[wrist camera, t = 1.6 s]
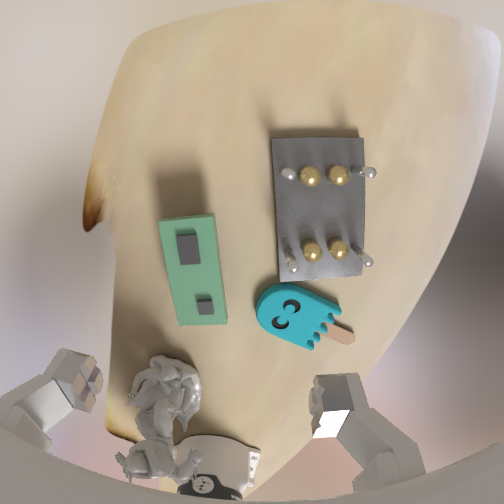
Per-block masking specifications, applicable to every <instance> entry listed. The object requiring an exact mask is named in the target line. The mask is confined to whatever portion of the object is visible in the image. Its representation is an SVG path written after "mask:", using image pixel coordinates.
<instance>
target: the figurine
mask: <svg viewBox="0 0 504 504" xmlns="http://www.w3.org/2000/svg"><path fill="white" fill-rule="evenodd" d="M144 379H147V380H146V381H145V382H144V383H143V385H142V388H141V389H140V391H139V393H138V392H137V390H138V387H139V385H140V384H141V382H142V381H143V380H144ZM133 395H135V397H133ZM129 396H130V397H129ZM131 396H132V397H131ZM128 397H129V398H133V399H132V400H131V401H129V402H128V403H126V404H125V405H124V406H129V405H139V411H140V412H139V413H138V414H137V416H136V418H135V421H136V424H137V428H138V430H139V431H140V433H141V434H142V436H143V437H144V438H145V439H146V440H143V441H140V442H138V443H136V444H135V445H134V446H133V447H132V448H131V449H130V450H129V455H128V456H127V458H125V457H124V456H123V455H122V454H121V453H120V452H118V454H116V455H115V457H116V460H117V462H118V463H120V465H121V466H122V467H123V471H124V473H125V474H126V477H127V478H128V476H129V482H130V483H131V479H132V476H133V477H135V478H142V479H152V478H159V477H164V476H168V477H170V478H173V479H176V480H187V479H188V478H190V479H191V480H192V483H193V487H195V482H194V477H193V476H192V474H193V473H194V476H195V480H196V479H197V477H196V473H197V474H198V467H197V463H198V462H200V461H202V459H203V458H204V455H203V453H201V451H198V449H195V450H194V451H193V449H192V448H191V449H190V451H189V453H188V459H187V460H186V461H185V462H184V463H183V464H182V465H180V466H179V467H178V466H177V465H176V464H175V460H174V458H173V454H172V449H173V448H174V444H173V435H172V431H173V421H174V419H175V417H176V418H177V419H178V420H179V422H180V423H181V424H182V427H183V430H184V432H186V430H187V428H188V424H187V423H188V422H189V420H190V419H191V418H192V416H193V414H195V413H197V412H198V410H199V409H200V407H201V403H200V400H201V398H202V383H201V381H200V376H199V374H198V371H197V370H196V369H194V368H193V367H192V366H191V365H189V364H185V363H184V362H182V361H180V360H179V359H172V358H167V357H165V356H164V355H158V356H154V357H152V358H151V359H150V368H148V369H146V370H144V371H141V372H139V373H138V374H137V375H136V376H135V378H134V381H133V384H132V388H131V392H130V393H129V394H128ZM192 452H193V453H192ZM195 469H196V471H195Z"/></svg>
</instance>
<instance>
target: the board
mask: <svg viewBox="0 0 504 504" xmlns="http://www.w3.org/2000/svg"><path fill="white" fill-rule="evenodd" d="M158 224H159V230H160V236H161V242H162V247H163V253H164V258H165V264H166V269H167V274H168V279H169V284H170V288H171V293H172V297H173V302H174V306H175V311H176V315H177V319H178V323H179V326H183V325H218V324H227V319H228V315H227V308H226V300H225V293H224V286H223V278H222V270H221V262H220V254H219V246H218V237H217V229H216V220H215V213H212V214H201V215H191V216H181V217H171V218H163V219H161V220H160V221H159V222H158Z"/></svg>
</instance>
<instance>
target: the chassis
mask: <svg viewBox="0 0 504 504" xmlns="http://www.w3.org/2000/svg"><path fill="white" fill-rule="evenodd" d="M271 145H272V159H273V173H274V188H275V204H276V221H277V239H278V259H279V279H280V282H290V281H303V280H314V279H326V278H337V277H347V276H358V275H362V266H363V264H364V265H365V266H366V267H371V266H372V265H373V259H372V258H371V257H370V256H369V255H368V254H367V253H366V252H365V251H364V229H365V177H369V178H374V177H375V176H376V170H375V169H374V168H372V167H366V166H365V161H364V139H363V138H348V137H304V138H277V139H271Z"/></svg>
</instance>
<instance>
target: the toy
mask: <svg viewBox="0 0 504 504" xmlns="http://www.w3.org/2000/svg"><path fill="white" fill-rule="evenodd" d="M330 313H334V314H337V315H340V314H341V308H340V307H339V306H338V305H337V304H335V303H333V302H331V301H329V300H327V299H325V298H323V297H321V296H318V295H316V294H314V293H312V292H310V291H308V290H306V289H304V288H302V287H300V286H297V285H294V284H289V283H282V284H276V285H273V286H271V287H269V288H268V289H267V290H265V291H264V292H263V293H262V294H261V296H260V297H259V299H258V302H257V306H256V317H257V320H258V322H259V324H260V325H261V326H262V328H263V329H265V330H266V331H267V332H269V333H271V334H273V335H275V336H277V337H280V338H282V339H284V340H287V341H289V342H292V343H294V344H297V345H299V346H302V347H304V348H307V349H309V350H313V349H314V343H313V341H316V342H319V341H320V335H319V334H321V335H323V336H326V337H328V338H330V339H333V340H335V341H338V342H340V343H342V344H351V343H353V342H354V341H355V335H354V334H353V333H352V332H350V331H348V330H346V329H343V328H341V327H339V326H337V325H334V324H333V323H334V321H335V320H334V317H333V315H332V314H330ZM312 340H313V341H312Z"/></svg>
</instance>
